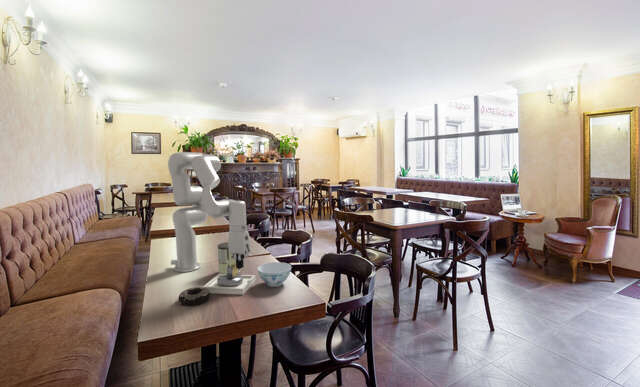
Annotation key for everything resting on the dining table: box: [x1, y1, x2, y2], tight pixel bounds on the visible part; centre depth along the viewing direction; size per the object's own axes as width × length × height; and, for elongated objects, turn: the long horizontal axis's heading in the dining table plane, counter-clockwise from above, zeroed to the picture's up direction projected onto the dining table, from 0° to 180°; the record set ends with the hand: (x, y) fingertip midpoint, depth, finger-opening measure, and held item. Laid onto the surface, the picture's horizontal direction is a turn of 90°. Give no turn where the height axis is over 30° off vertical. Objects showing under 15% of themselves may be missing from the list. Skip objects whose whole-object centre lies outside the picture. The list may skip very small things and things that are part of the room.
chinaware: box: [257, 261, 292, 288], centre depth 147 cm, size 15×15×8 cm
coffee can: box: [217, 241, 241, 274], centre depth 163 cm, size 10×10×14 cm
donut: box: [177, 286, 211, 307], centre depth 131 cm, size 12×12×4 cm
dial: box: [217, 263, 243, 287], centre depth 145 cm, size 12×11×7 cm
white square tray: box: [202, 273, 257, 295], centre depth 145 cm, size 18×16×3 cm
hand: (239, 267), depth 149 cm, fingers closed
